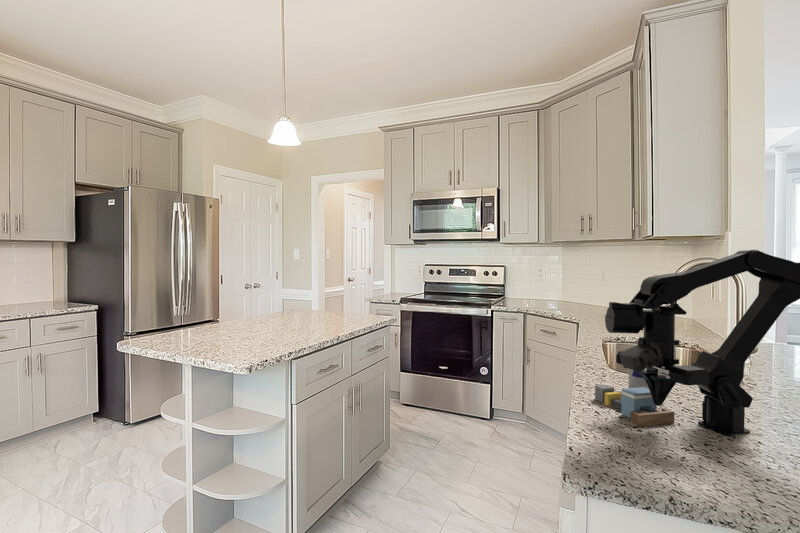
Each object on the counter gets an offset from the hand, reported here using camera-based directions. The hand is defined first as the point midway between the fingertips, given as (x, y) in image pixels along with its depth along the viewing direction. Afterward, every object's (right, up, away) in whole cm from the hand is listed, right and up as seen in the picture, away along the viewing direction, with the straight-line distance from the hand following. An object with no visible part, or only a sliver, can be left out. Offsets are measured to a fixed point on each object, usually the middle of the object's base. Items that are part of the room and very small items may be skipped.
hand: (658, 405), depth 88 cm
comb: (0, -4, +2) cm, 5 cm away
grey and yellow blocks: (-2, -4, +9) cm, 10 cm away
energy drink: (+8, -4, +19) cm, 21 cm away
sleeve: (-1, -4, +5) cm, 7 cm away
